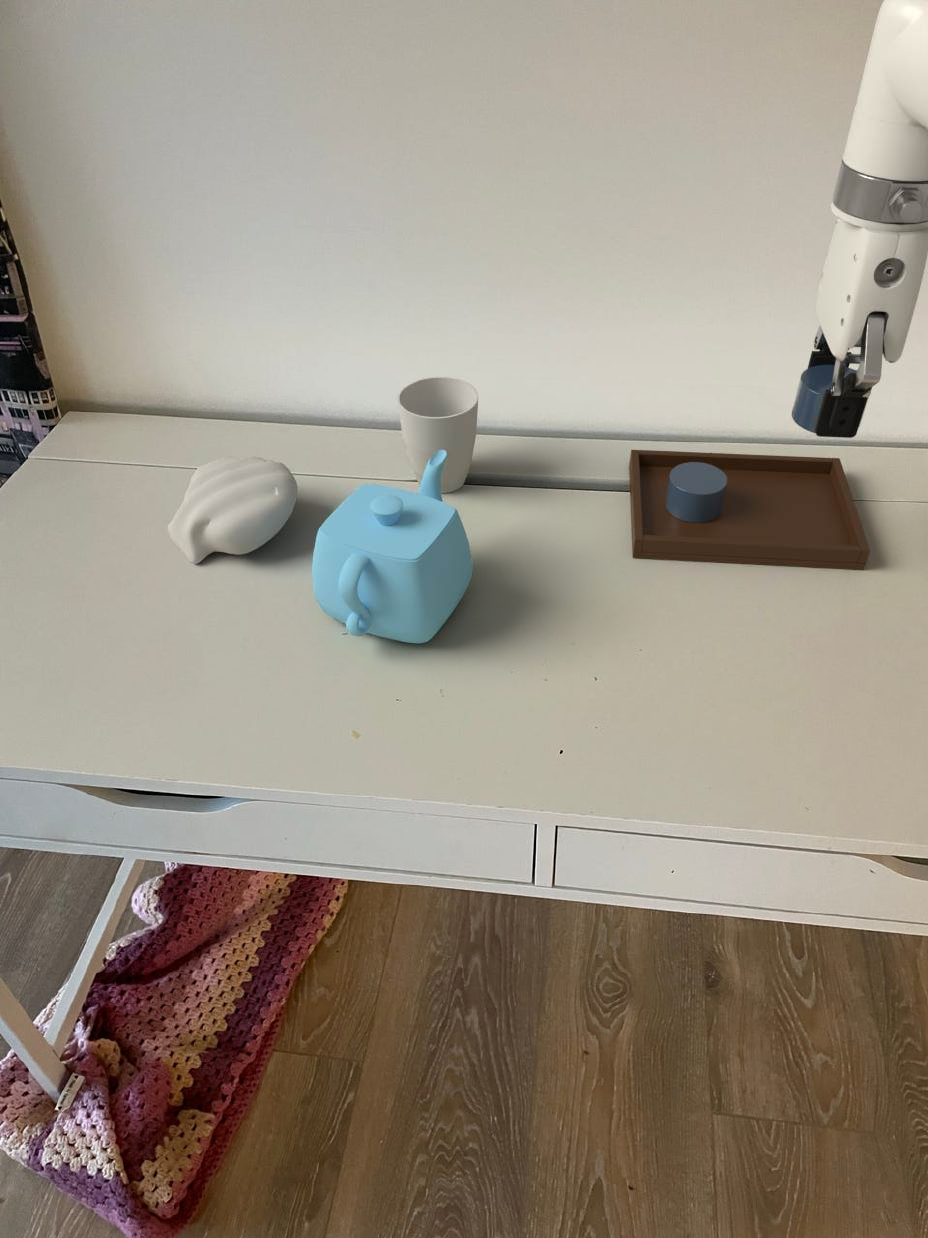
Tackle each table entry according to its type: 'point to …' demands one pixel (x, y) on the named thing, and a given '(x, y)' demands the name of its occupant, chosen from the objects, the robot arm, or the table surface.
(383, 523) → the teapot
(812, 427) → the blue-grey hockey puck
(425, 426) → the cup
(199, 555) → the shell shaped sculpture
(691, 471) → the blue short cylinder
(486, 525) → the table surface
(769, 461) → the tray
